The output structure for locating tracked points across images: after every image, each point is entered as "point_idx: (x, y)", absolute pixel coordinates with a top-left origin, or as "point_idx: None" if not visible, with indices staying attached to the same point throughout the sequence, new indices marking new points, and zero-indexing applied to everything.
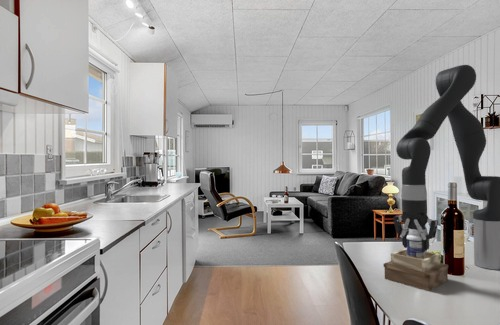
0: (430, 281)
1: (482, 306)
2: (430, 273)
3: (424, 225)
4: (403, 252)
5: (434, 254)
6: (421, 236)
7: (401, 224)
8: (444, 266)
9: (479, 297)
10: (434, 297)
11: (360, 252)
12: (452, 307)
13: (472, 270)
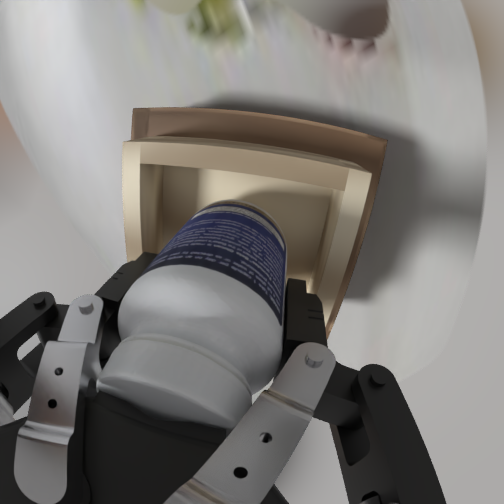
0: None
1: (439, 313)
2: (330, 325)
3: (278, 495)
4: (146, 227)
5: (335, 188)
6: (258, 383)
7: (2, 349)
8: (375, 182)
9: (447, 258)
10: (339, 331)
11: (10, 69)
12: (378, 356)
13: None
